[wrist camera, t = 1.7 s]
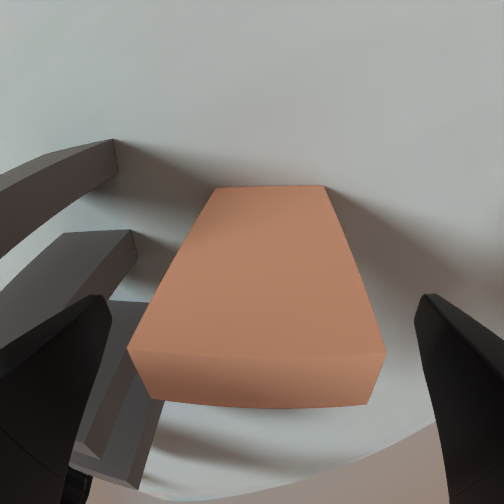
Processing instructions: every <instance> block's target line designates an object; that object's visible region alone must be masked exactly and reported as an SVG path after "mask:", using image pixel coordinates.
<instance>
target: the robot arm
mask: <svg viewBox="0 0 504 504" xmlns="http://www.w3.org/2000/svg"><path fill="white" fill-rule="evenodd" d="M111 325H112V315H111V312H110V310H109V307H108V305H107V302H106V299H105V297H104V296H103V295H101V294H89V295H87V296H86V297H84V298H82V299H80V300H79V301H77V302H75V303H74V304H72V305H70V306H69V307H67V308H65V309H64V310H62V311H60V312H59V313H57V314H55V315H54V316H52V317H50V318H49V319H47V320H45V321H44V322H42V323H40V324H39V325H37V326H35V327H34V328H32V329H31V330H29V331H27V332H26V333H24V334H23V335H21V336H19V337H18V338H16V339H15V340H13V341H11V342H10V343H8V344H7V345H5V346H4V347H3V348H0V504H85V503H86V501H87V498H88V495H89V492H90V487H91V483H92V479H93V476H91V475H88V474H86V473H83V472H81V471H78V470H75V469H73V468H71V467H70V466H69V461H70V458H71V454H72V450H73V447H74V443H75V440H76V437H77V433H78V430H79V427H80V424H81V420H82V417H83V414H84V411H85V408H86V405H87V402H88V399H89V396H90V393H91V390H92V387H93V385H94V382H95V379H96V376H97V374H98V371H99V368H100V365H101V361H102V358H103V354H104V350H105V347H106V343H107V339H108V336H109V332H110V329H111ZM414 325H415V330H416V335H417V340H418V345H419V350H420V356H421V361H422V367H423V371H424V375H425V379H426V383H427V387H428V390H429V394H430V398H431V402H432V406H433V410H434V414H435V419H436V423H437V428H438V432H439V437H440V442H441V448H442V453H443V459H444V465H445V471H446V478H447V485H448V493H449V498H450V499H449V503H450V504H504V340H503V339H501V338H500V337H498V336H497V335H496V334H494V333H493V332H492V331H490V330H489V329H487V328H486V327H484V326H483V325H482V324H480V323H479V322H477V321H476V320H475V319H473V318H472V317H470V316H469V315H467V314H466V313H464V312H463V311H462V310H460V309H459V308H457V307H456V306H454V305H453V304H451V303H450V302H448V301H447V300H445V299H444V298H442V297H441V296H439V295H438V294H435V293H431V294H424V295H422V297H421V299H420V302H419V305H418V308H417V311H416V314H415V318H414Z"/></svg>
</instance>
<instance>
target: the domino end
mask: <svg viewBox="0 0 504 504" xmlns="http://www.w3.org/2000/svg"><path fill="white" fill-rule="evenodd" d="M127 350H128V352H129V355H130V357H131V359H132V361H133V363H134V365H135V367H136V369H137V371H138V373H139V375H140V377H141V379H142V381H143V383H144V385H145V387H146V389H147V391H148V393H149V395H150V397H151V398H152V399H159V400H166V401H173V402H181V403H190V404H199V405H210V406H223V407H240V408H270V409H296V408H326V407H342V406H355V405H366V404H367V403H368V401H369V398H370V396H371V393H372V391H373V388H374V386H375V383H376V381H377V378H378V375H379V373H380V370H381V367H382V365H383V362H384V359H385V356H386V349H385V346H384V343H383V340H382V336H381V333H380V330H379V327H378V324H377V321H376V318H375V315H374V312H373V309H372V306H371V303H370V301H369V298H368V295H367V292H366V289H365V287H364V284H363V281H362V278H361V276H360V273H359V270H358V268H357V265H356V262H355V260H354V257H353V255H352V252H351V250H350V247H349V245H348V242H347V240H346V237H345V235H344V232H343V230H342V227H341V225H340V223H339V220H338V218H337V216H336V213H335V211H334V209H333V206H332V204H331V202H330V199H329V197H328V195H327V193H326V190H325V188H324V186H323V185H300V186H248V187H223V188H215V190H214V192H213V193H212V195H211V197H210V198H209V200H208V201H207V203H206V205H205V206H204V208H203V210H202V211H201V213H200V215H199V216H198V218H197V220H196V221H195V223H194V225H193V226H192V228H191V230H190V232H189V233H188V235H187V237H186V238H185V240H184V242H183V244H182V245H181V247H180V249H179V251H178V252H177V254H176V256H175V258H174V259H173V261H172V263H171V265H170V267H169V268H168V270H167V272H166V274H165V276H164V277H163V279H162V281H161V283H160V285H159V287H158V288H157V290H156V292H155V294H154V296H153V298H152V300H151V301H150V303H149V305H148V307H147V309H146V311H145V313H144V315H143V317H142V319H141V321H140V323H139V324H138V326H137V328H136V330H135V332H134V334H133V336H132V338H131V340H130V342H129V344H128V346H127Z"/></svg>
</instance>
